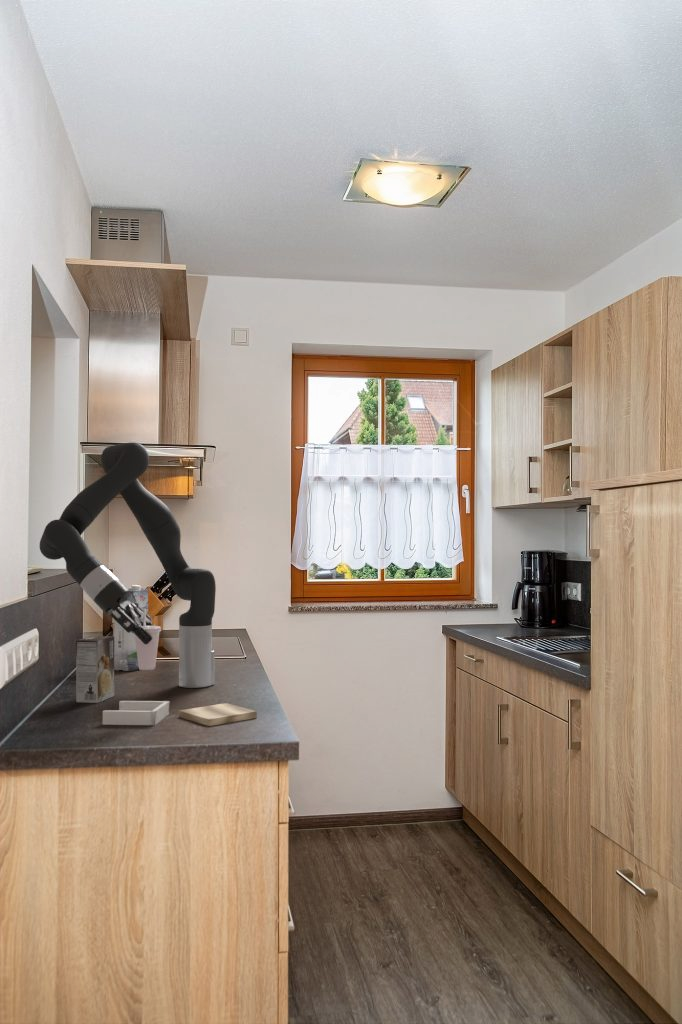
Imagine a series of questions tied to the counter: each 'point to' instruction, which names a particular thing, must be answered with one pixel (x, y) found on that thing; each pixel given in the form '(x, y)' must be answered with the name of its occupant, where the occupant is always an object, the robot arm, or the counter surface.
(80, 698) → the coffee box
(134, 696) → the counter surface
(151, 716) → the frame
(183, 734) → the counter surface
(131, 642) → the juice carton
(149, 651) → the smoothie
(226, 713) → the brass board
